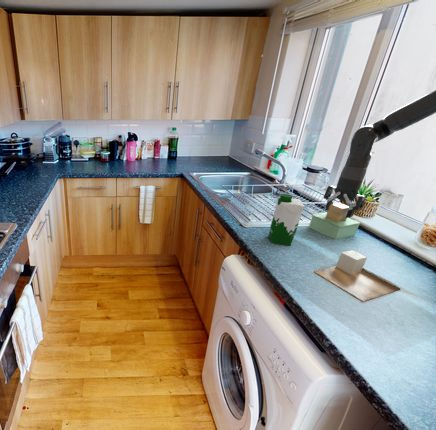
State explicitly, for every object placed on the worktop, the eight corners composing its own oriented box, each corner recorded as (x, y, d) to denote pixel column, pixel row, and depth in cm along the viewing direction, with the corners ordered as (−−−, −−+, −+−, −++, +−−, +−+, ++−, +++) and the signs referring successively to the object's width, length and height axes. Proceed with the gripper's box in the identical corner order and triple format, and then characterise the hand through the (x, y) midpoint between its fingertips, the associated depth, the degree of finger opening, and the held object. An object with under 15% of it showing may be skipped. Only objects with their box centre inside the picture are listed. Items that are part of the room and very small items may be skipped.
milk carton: (266, 234, 125) (278, 191, 117) (289, 237, 123) (303, 194, 115) (269, 243, 118) (282, 198, 110) (293, 247, 115) (308, 201, 107)
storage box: (325, 226, 133) (331, 211, 130) (354, 239, 123) (361, 222, 119) (306, 230, 129) (311, 214, 126) (333, 244, 119) (340, 226, 115)
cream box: (346, 263, 105) (352, 249, 102) (360, 271, 100) (367, 257, 98) (335, 266, 103) (341, 252, 100) (350, 274, 99) (356, 260, 96)
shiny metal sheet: (348, 263, 106) (349, 262, 106) (400, 289, 92) (400, 288, 92) (313, 272, 100) (314, 271, 100) (363, 302, 87) (363, 301, 87)
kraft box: (334, 215, 126) (339, 202, 123) (346, 220, 121) (351, 207, 119) (325, 217, 124) (330, 204, 121) (337, 221, 120) (342, 208, 117)
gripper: (377, 181, 110) (361, 219, 117) (340, 171, 122) (327, 206, 129) (364, 183, 108) (348, 221, 115) (328, 172, 120) (315, 208, 127)
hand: (337, 213), depth 122 cm, fingers open, 8 cm apart
